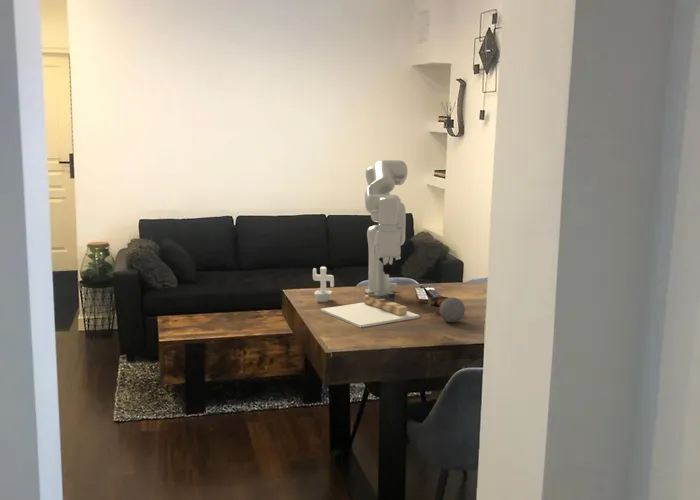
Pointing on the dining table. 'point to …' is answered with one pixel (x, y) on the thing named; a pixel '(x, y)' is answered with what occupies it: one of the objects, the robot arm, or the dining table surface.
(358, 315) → the pivot board
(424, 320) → the dining table surface
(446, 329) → the dining table surface
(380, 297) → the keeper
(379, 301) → the oak link
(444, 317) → the decorative ball
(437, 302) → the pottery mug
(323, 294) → the figurine
